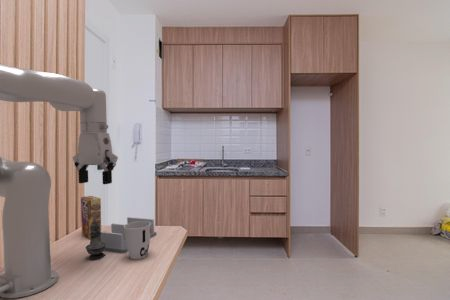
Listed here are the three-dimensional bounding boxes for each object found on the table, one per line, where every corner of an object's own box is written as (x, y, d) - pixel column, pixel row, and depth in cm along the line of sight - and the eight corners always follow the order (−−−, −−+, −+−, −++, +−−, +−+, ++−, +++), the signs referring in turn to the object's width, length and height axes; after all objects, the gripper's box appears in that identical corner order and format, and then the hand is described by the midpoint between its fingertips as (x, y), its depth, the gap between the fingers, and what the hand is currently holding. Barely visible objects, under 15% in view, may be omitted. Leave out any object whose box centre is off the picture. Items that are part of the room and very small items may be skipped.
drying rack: (124, 253, 89) (123, 235, 89) (91, 248, 93) (90, 231, 93) (156, 234, 106) (156, 219, 106) (126, 231, 111) (126, 217, 111)
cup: (143, 262, 82) (142, 229, 81) (119, 260, 83) (118, 228, 83) (156, 251, 89) (155, 221, 89) (133, 250, 91) (132, 220, 91)
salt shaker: (85, 262, 83) (83, 223, 82) (86, 255, 88) (85, 218, 88) (106, 258, 85) (105, 220, 85) (106, 251, 91) (104, 215, 90)
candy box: (102, 236, 105) (101, 197, 105) (91, 240, 102) (89, 199, 101) (92, 232, 111) (91, 195, 110) (81, 235, 108) (79, 197, 107)
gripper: (124, 128, 86) (125, 182, 86) (83, 130, 92) (84, 181, 92) (106, 127, 79) (107, 186, 79) (63, 129, 85) (64, 184, 85)
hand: (95, 183), depth 86 cm, fingers open, 9 cm apart
